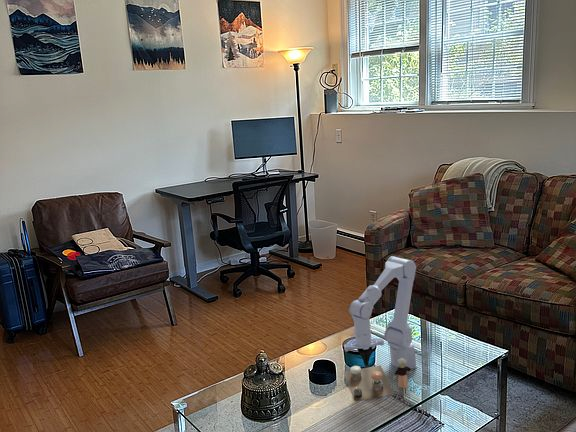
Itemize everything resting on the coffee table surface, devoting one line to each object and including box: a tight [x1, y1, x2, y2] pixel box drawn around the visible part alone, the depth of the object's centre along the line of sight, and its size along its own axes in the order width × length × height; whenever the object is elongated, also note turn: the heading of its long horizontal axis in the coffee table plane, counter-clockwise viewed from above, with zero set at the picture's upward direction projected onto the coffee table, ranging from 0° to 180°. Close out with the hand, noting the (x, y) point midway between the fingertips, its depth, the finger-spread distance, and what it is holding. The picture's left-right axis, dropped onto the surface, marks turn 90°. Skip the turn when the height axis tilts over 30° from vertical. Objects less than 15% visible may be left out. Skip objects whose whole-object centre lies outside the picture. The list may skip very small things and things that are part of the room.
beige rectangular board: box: [343, 364, 396, 402], centre depth 206 cm, size 15×20×4 cm
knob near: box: [371, 371, 382, 384], centre depth 201 cm, size 4×4×4 cm
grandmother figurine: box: [392, 358, 413, 389], centre depth 200 cm, size 8×4×13 cm, turn 117°
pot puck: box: [354, 387, 362, 397], centre depth 199 cm, size 3×3×3 cm
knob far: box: [349, 365, 362, 374], centre depth 210 cm, size 4×4×4 cm
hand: (366, 364), depth 203 cm, fingers closed
